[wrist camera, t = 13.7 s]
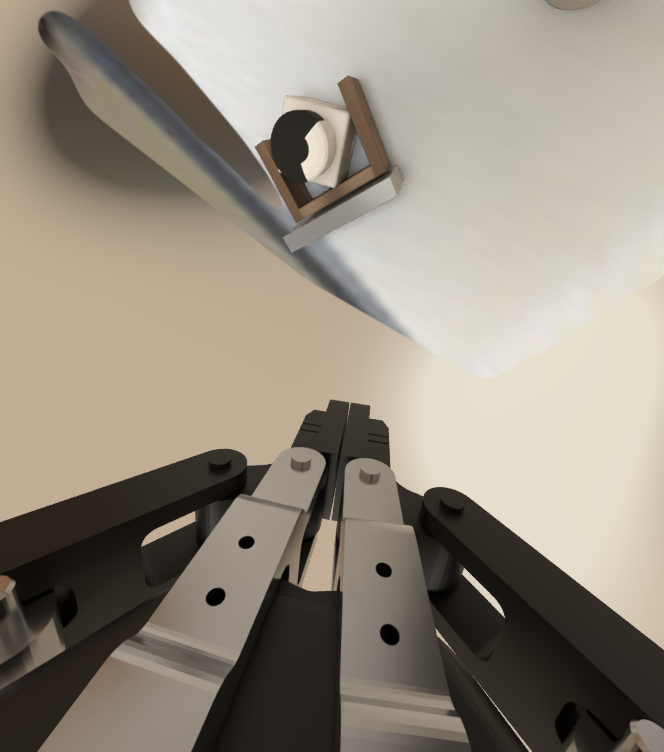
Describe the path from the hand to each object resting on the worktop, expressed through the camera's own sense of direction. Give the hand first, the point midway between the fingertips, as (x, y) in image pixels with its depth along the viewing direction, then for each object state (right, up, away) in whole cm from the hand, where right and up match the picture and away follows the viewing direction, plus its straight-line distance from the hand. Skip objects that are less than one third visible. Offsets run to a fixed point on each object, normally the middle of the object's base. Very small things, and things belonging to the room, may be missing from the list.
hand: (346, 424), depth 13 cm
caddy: (-1, +30, +30) cm, 43 cm away
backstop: (+2, +26, +33) cm, 42 cm away
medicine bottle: (-1, +32, +30) cm, 43 cm away
